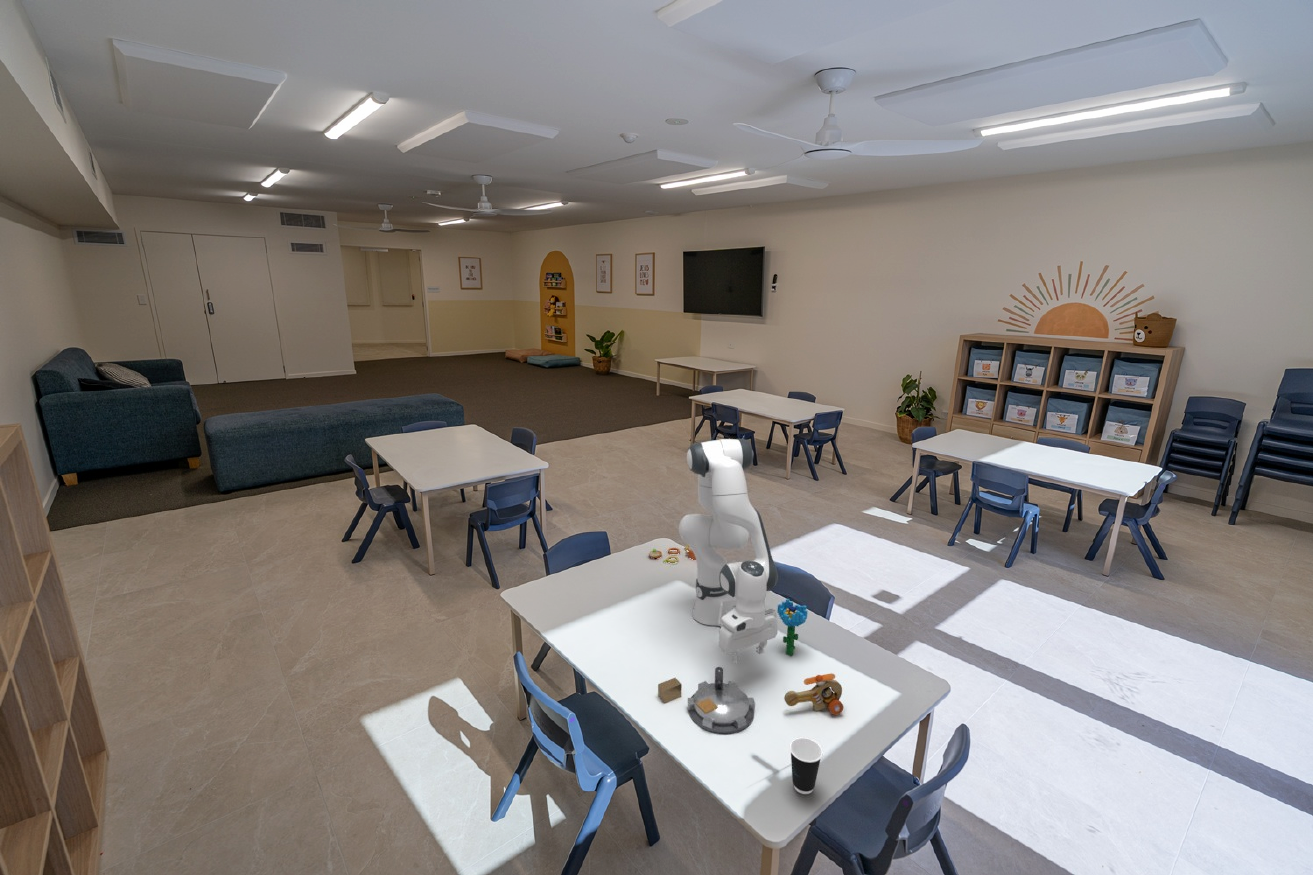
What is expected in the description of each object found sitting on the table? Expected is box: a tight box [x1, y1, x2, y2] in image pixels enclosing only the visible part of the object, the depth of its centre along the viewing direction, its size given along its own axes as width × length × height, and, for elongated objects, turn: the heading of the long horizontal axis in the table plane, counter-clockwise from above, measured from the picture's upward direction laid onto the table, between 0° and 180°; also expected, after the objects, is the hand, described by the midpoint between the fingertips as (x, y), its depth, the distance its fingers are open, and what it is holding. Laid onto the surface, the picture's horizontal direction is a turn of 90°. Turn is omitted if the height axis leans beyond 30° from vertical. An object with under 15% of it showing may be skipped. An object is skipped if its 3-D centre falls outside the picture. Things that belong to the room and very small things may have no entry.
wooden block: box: [657, 677, 683, 705], centre depth 172 cm, size 6×4×5 cm, turn 121°
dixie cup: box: [789, 737, 824, 795], centre depth 140 cm, size 8×8×11 cm
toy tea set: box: [648, 544, 696, 564], centre depth 263 cm, size 26×16×10 cm, turn 115°
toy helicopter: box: [784, 672, 844, 716], centre depth 167 cm, size 7×18×12 cm, turn 103°
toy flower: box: [776, 598, 809, 657], centre depth 193 cm, size 9×9×18 cm
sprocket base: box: [687, 693, 755, 735], centre depth 168 cm, size 19×19×1 cm
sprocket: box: [687, 666, 756, 729], centre depth 166 cm, size 18×19×8 cm
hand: (747, 656), depth 176 cm, fingers open, 8 cm apart
